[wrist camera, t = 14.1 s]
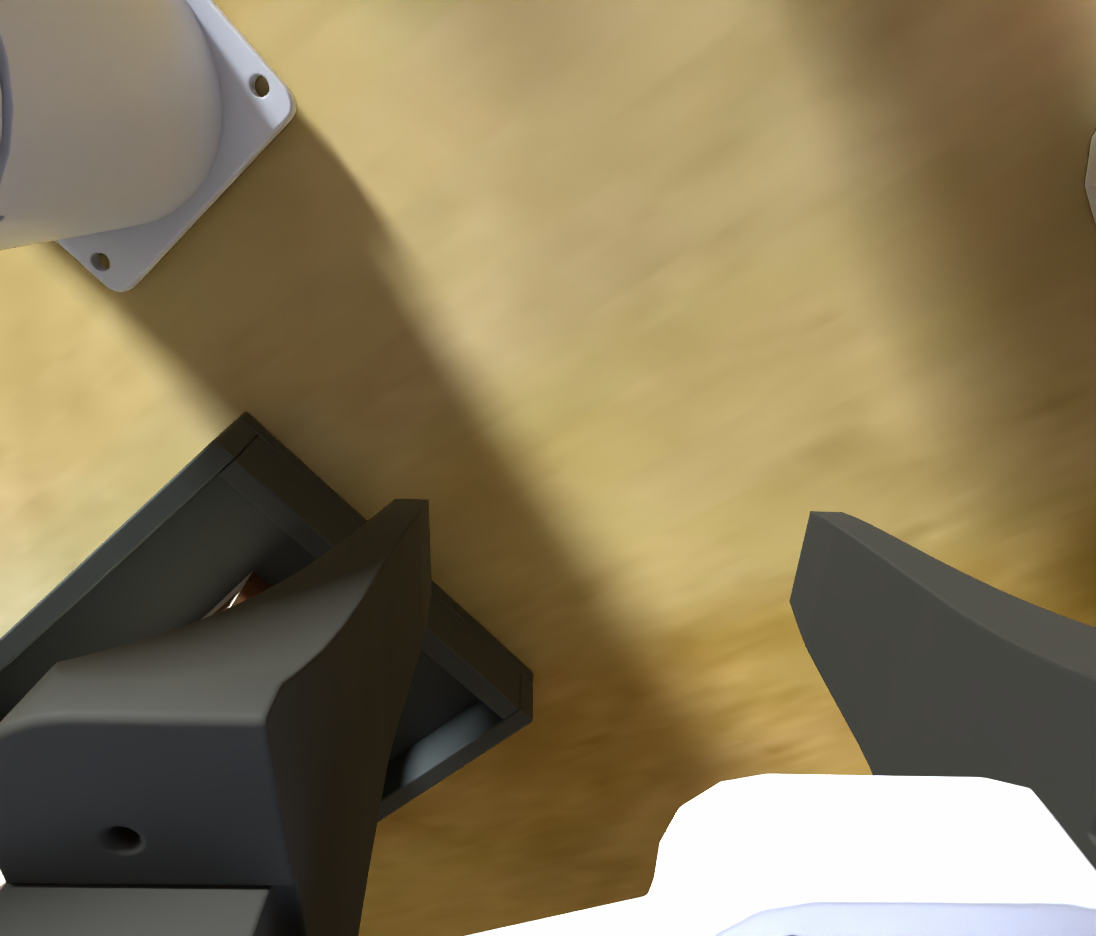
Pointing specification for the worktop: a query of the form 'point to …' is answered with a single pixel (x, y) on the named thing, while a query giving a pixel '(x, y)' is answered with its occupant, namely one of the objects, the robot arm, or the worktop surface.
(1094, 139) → the coffee cup
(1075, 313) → the worktop surface
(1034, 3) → the worktop surface
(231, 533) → the tray
